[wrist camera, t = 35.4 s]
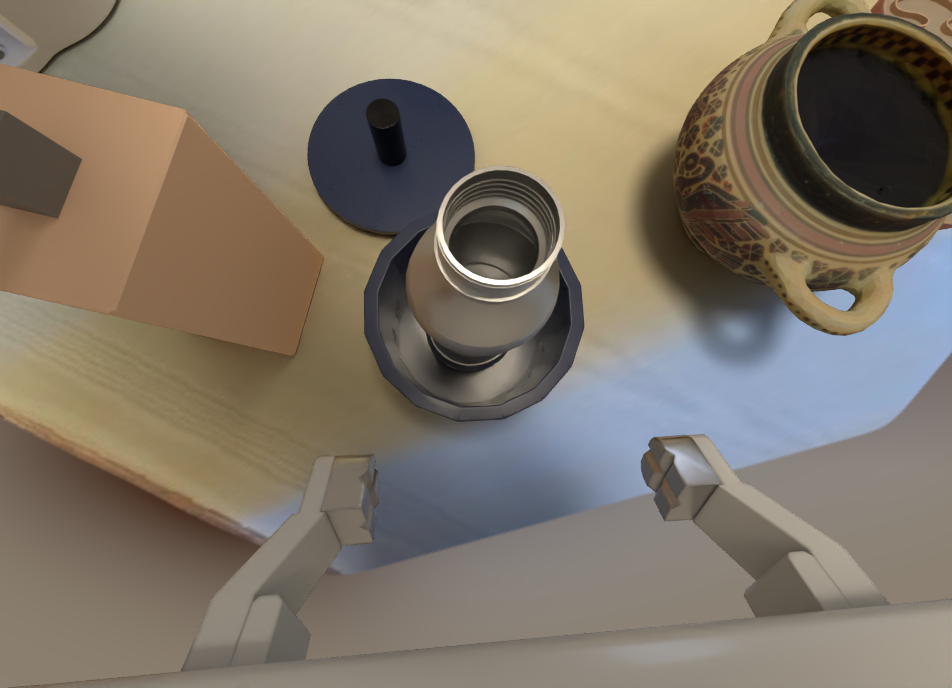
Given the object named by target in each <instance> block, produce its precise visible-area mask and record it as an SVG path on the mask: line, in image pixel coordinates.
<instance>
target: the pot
mask: <svg viewBox="0 0 952 688" xmlns="http://www.w3.org/2000/svg"><path fill="white" fill-rule="evenodd" d="M438 214H439V211H436V212H434V213H432V214H429V215H427V216H424V217H422V218H419V219H417V220H414V221H412V222H410V223H409V224H408V225H407V226H406V227H405V228H404V229H403V230H402V231H401V232H400V233H399V234H398V235H397V236H396V237H395V238H394V239H393V240H392V241H391V242H390V243H389V244H388V245H387V246H386V247H385V248H384V249H383V250H382V251H381V253H380V255H379V257H378V259H377V262H376V264H375V266H374V269H373V271H372V274H371V276H370V278H369V281H368V283H367V285H366V288H365V291H364V334H365V337H366V339H367V341H368V344H369V346H370V348H371V350H372V353H373V355H374V357H375V359H376V362H377V364H378V366H379V369H380V371H381V373H382V374H383V376H384V377H385V378H386V379H387V380H388V381H389V382H390V383H391V384H392V385H393V386H394V387H396V388H397V389H398V390H399V391H400V392H401V393H402V394H403V395H404V396H405V397H406V398H407V399H408V400H409V401H411V402H412V403H413V404H414V405H415V406H417V407H419V408H422V409H425V410H427V411H430V412H433V413H436V414H438V415H441V416H444V417H447V418H449V419H452V420H455V421H460V422H462V421H481V420H501V419H505V418H507V417H509V416H511V415H513V414H515V413H517V412H520V411H522V410H524V409H526V408H528V407H530V406H532V405H534V404H536V403H538V402H540V401H542V399H544V398H545V397H546V396H547V395H548V394H549V392H550V391H551V390H552V389H553V388H554V387H555V386H556V384H557V383H558V382H559V381H560V380H561V379H562V377H563V376H564V375H565V374H566V373H567V372H568V371H569V369H570V368H571V367H572V364H573V361H574V358H575V355H576V352H577V348H578V345H579V342H580V339H581V336H582V333H583V330H584V316H583V304H582V292H581V286H580V282H579V280H578V278H577V276H576V274H575V272H574V270H573V268H572V267H571V265H570V263H569V261H568V259H567V257H566V255H565V253H564V251H563V249H562V248H560V250H559V252H558V255H557V260H558V264H559V292H558V297H557V302H556V304H555V307H554V309H553V312H552V314H551V316H550V317H549V319H548V320H547V322H546V323H545V325H544V326H543V328H542V329H541V330H540V331H539V332H538V333H537V334H536V335H535V336H534V337H533V338H531V339H530V340H528V341H527V342H525V343H524V344H522V345H521V346H519V347H517V348H514V349H512V350H509V351H508V352H507V353H506V355H505V356H504V357H503V358H502V359H501V360H500V361H499V362H497V363H496V364H494V365H493V366H491V367H489V368H486V369H484V370H480V371H475V372H465V371H459V370H456V369H453V368H450V367H448V366H447V365H445V364H444V363H442V362H441V361H440V360H439V359H438V358H437V357H436V356H435V355H434V353H433V352H432V350H431V349H430V346H429V344H428V341H427V336H426V332H425V331H424V330H423V329H422V328H421V326H420V325H419V323H418V322H417V320H416V319H415V317H414V316H413V313H412V311H411V308H410V306H409V303H408V299H407V293H406V272H407V268H408V264H409V260H410V258H411V256H412V254H413V251H414V249H415V247H416V245H417V244H418V242H419V240H420V239H421V238H422V236H423V235H424V234H425V232H426V231H427V230H428V229H429V228H430V227H431V226H432V225H433V224H434V223H435V222H436V221H437V218H438Z"/></svg>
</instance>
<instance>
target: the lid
mask: <svg viewBox="0 0 952 688" xmlns="http://www.w3.org/2000/svg"><path fill="white" fill-rule="evenodd" d="M307 155H308V166H309V170H310V175H311V178H312V180H313V183H314V185H315V187H316V189H317V191H318V192H319V194H320V196H321V197H322V198H323V200H324V201H325V203H326V204H327V205H328V206H329V207H330V208H331V209H332V210H333V211H334V212H335V213H336V214H337V215H338V216H340V217H341V218H342V219H344V220H345V221H347V222H349V223H350V224H352V225H354V226H356V227H359V228H361V229H363V230H367V231H370V232H374V233H380V234H391V235H398V234H399V233H400V232H401V231H402V230H403V229H404V228H405V227H406V226H407V225H408V224H409V223H410V222H412V221H414V220H417V219H419V218H422V217H424V216H427V215H429V214H432V213H434V212H436V211H439V210H440V207H441V205H442V203H443V200H444V198H445V196H446V195H447V193H448V192H449V191H450V189H451V188H452V187H453V186H454V185H455V184H456V183H457V182H458V181H459V180H460V179H462V178H463V177H465V176H466V175H468V174H470V173H472V172H473V171H474V164H475V151H474V143H473V140H472V136H471V133H470V130H469V128H468V126H467V124H466V122H465V120H464V119H463V117H462V115H461V114H460V113H459V111H458V110H457V109H456V108H455V107H454V106H453V105H452V104H451V103H450V102H449V101H448V100H447V99H446V98H445V97H443V96H442V95H441V94H439V93H437V92H436V91H434V90H432V89H431V88H428V87H426V86H424V85H422V84H418V83H415V82H412V81H407V80H401V79H378V80H373V81H368V82H364V83H361V84H358V85H356V86H354V87H351V88H349V89H347V90H346V91H344V92H342V93H341V94H339V95H338V96H337V97H335V98H334V99H333V100H332V101H331V102H330V103H329V104H328V105H327V106H326V107H325V108H324V109H323V111H322V112H321V113H320V115H319V116H318V118H317V120H316V122H315V124H314V126H313V128H312V131H311V134H310V138H309V143H308V154H307Z"/></svg>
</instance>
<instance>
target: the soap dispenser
mask: <svg viewBox="0 0 952 688" xmlns="http://www.w3.org/2000/svg"><path fill="white" fill-rule="evenodd" d="M323 258H324V257H323V256H322V254H321V253H320V252H319V251H318V250H317V249H316V248H315V247H314V246H313V245H312V244H311V243H310V242H309V241H308V240H307V239H306V238H305V236H304V235H303V234H302V233H301V232H300V231H299V230H298V229H297V228H296V227H295V226H294V225H293V224H292V223H291V222H290V221H289V220H288V218H287V217H286V216H285V215H284V214H283V213H282V212H281V211H280V210H279V209H278V208H277V207H276V206H275V205H274V204H273V203H272V202H271V200H270V199H269V198H268V197H267V196H266V195H265V194H264V193H263V192H262V191H261V190H260V189H259V188H258V187H257V186H256V185H255V183H254V182H253V181H252V180H251V179H250V178H249V177H248V176H247V175H246V174H245V173H244V172H243V171H242V170H241V169H240V168H239V167H238V165H237V164H236V163H235V162H234V161H233V160H232V159H231V158H230V157H229V156H228V155H227V154H226V153H225V152H224V151H223V150H222V149H221V147H220V146H219V145H218V144H217V143H216V142H215V141H214V140H213V139H212V138H211V137H210V136H209V135H208V134H207V133H206V132H205V131H204V129H203V128H202V127H201V126H200V125H199V124H198V123H197V122H196V121H195V120H194V119H193V118H192V117H191V116H190V115H189V114H188V112H187V111H186V110H185V109H181V108H177V107H173V106H169V105H165V104H161V103H157V102H153V101H149V100H145V99H141V98H137V97H133V96H129V95H125V94H121V93H117V92H113V91H109V90H105V89H101V88H97V87H93V86H89V85H85V84H81V83H77V82H73V81H69V80H65V79H61V78H57V77H53V76H49V75H45V74H41V73H37V72H33V71H29V70H25V69H21V68H17V67H13V66H9V65H5V64H1V63H0V290H2V291H6V292H10V293H15V294H19V295H24V296H28V297H32V298H37V299H41V300H46V301H50V302H54V303H59V304H63V305H68V306H72V307H76V308H81V309H85V310H90V311H94V312H98V313H103V314H107V315H112V316H116V317H121V318H125V319H129V320H134V321H138V322H143V323H147V324H152V325H156V326H161V327H165V328H170V329H174V330H179V331H183V332H187V333H192V334H196V335H201V336H205V337H210V338H214V339H219V340H223V341H228V342H232V343H237V344H241V345H245V346H250V347H254V348H259V349H263V350H268V351H272V352H277V353H281V354H286V355H290V356H293V355H295V353H296V350H297V346H298V343H299V339H300V336H301V333H302V329H303V326H304V323H305V319H306V316H307V312H308V309H309V306H310V302H311V299H312V295H313V292H314V289H315V285H316V282H317V279H318V275H319V272H320V268H321V265H322V262H323Z"/></svg>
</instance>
